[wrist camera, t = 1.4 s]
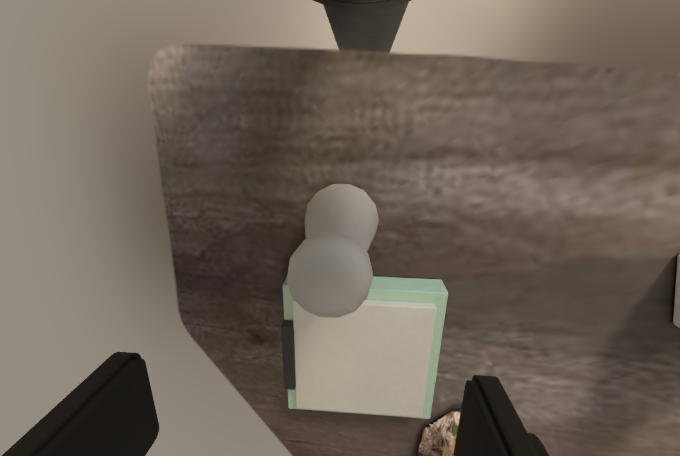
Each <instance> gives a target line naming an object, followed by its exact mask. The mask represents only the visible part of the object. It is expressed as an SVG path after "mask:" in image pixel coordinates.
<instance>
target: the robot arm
mask: <svg viewBox="0 0 680 456" xmlns="http://www.w3.org/2000/svg"><path fill="white" fill-rule="evenodd" d="M158 432H159V423H158V419H157V414H156V410H155V405H154V401H153V396H152V391H151V387H150V382H149V378H148V373H147V368H146V364H145V361H144V360H143V359H141V356H140V355H139V354H137V353H126V352H117V353H114V354H113V355H111V356H110V357H109V358H108V359H107V360H106V361H105V362H104V363H103V364H101V365H100V366H99V367H98V368H97V369H96V370H95V371H94V372H93V373H92V374H91V375H89V376H88V377H87V379H85V380H84V381H83V382H82V383H81V384H80V385H79V386H77V387H76V388H75V389H74V390H73V391H72V392H71V393H70V394H69V395H68V396H67V397H66V398H64V399H63V400H62V401H61V402H60V403H59V404H58V405H57V406H56V407H55V408H53V409H52V410H51V411H50V412H49V413H48V414H47V415H46V416H45V417H44V418H42V419H41V420H40V421H39V422H38V423H37V424H36V425H35V426H34V427H33V428H32V429H30V430H29V431H28V432H27V433H26V434H25V435H24V436H23V437H22V438H21V439H20V440H19V441H17V442H16V443H15V444H14V445H13V446H12V447H11V448H10V449H9V450H8V451H6V452H5V453H4V454H3V455H2V456H145V455H146V453H147V452H148V450H149V449H150V447H151V446H152V444H153V443H154V441H155V439H156V437H157V435H158ZM454 456H549V455H548V453H547V451H546V449H545V448H544V446H543V444H542V443H541V441H540V440H539V438H538V437H537V436H535V435H534V434H531V433H527V432H526V430H525V428H524V426H523V424H522V422H521V420H520V418H519V416H518V415H517V413H516V411H515V409H514V407H513V405H512V403H511V401H510V400H509V398H508V396H507V394H506V392H505V390H504V388H503V386H502V384H501V383H500V381H499V379H498V378H497V377H494V376H479V375H474V376H473V379H472V381H467V382H466V385H465V391H464V396H463V402H462V408H461V413H460V419H459V424H458V430H457V436H456V441H455V447H454Z"/></svg>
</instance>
